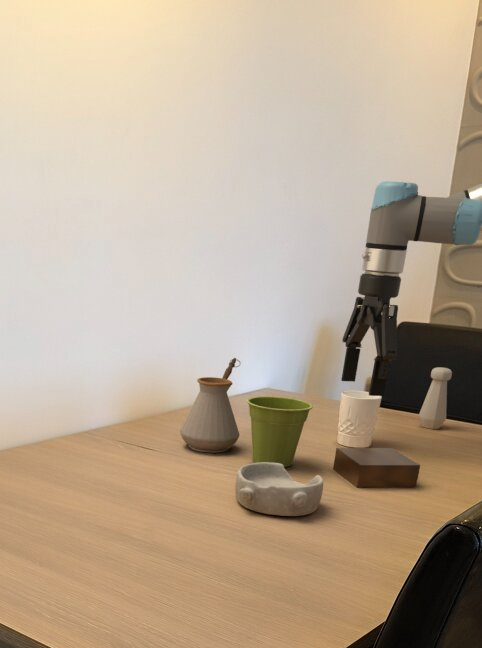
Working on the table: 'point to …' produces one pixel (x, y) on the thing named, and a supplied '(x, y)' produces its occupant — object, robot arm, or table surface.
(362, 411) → the white cup
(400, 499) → the table surface
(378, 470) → the riser
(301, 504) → the dish
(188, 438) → the coffee pot
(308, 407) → the plant pot
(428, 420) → the salt shaker
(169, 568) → the table surface
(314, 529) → the table surface
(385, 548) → the table surface
